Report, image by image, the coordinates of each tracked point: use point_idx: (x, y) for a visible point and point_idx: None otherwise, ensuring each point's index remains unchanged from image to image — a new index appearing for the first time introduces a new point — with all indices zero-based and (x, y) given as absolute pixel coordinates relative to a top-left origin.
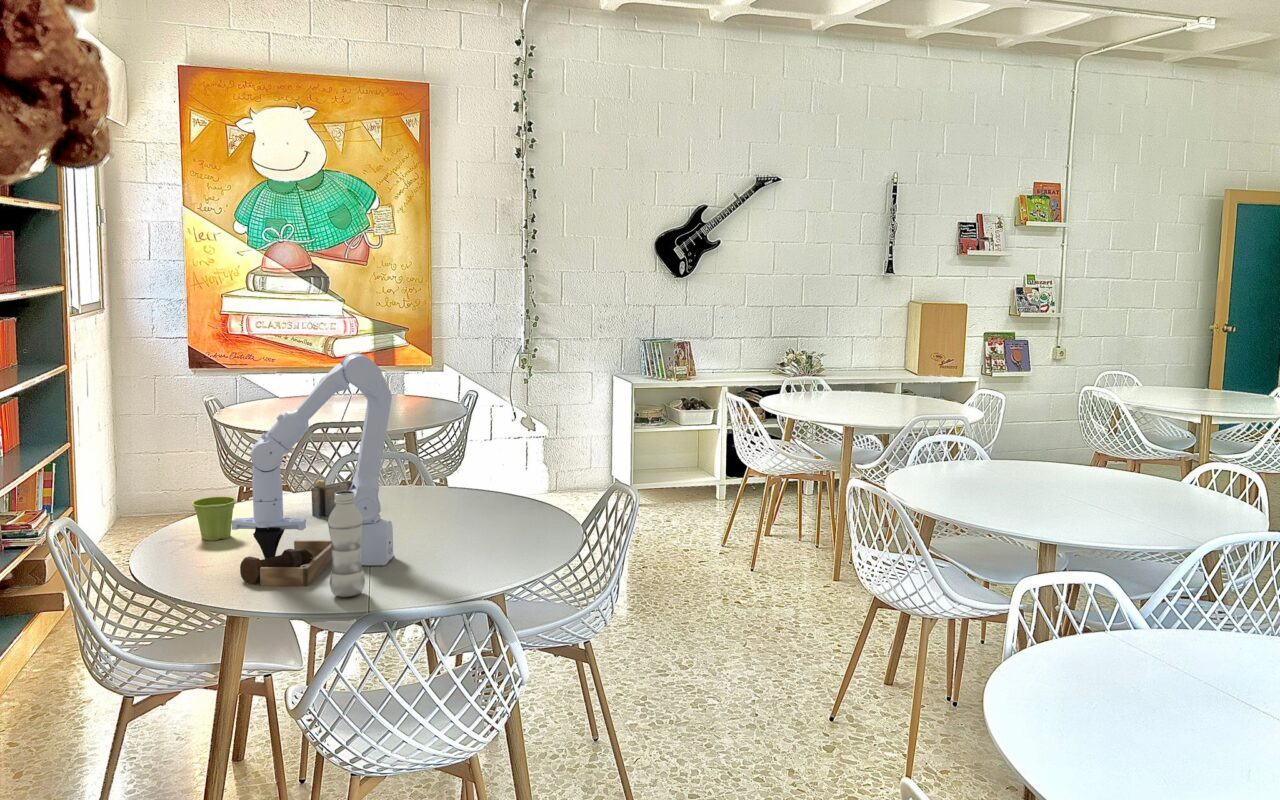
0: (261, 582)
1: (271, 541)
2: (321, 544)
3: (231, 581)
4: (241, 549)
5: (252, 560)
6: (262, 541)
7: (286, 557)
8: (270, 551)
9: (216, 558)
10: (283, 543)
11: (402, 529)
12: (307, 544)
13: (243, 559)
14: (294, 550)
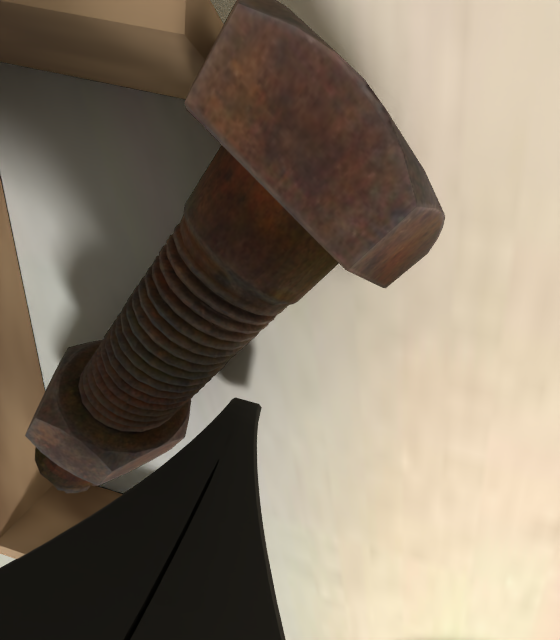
0: None
1: (95, 541)
2: None
3: (462, 236)
4: (398, 636)
5: (278, 15)
6: (205, 577)
7: (97, 378)
8: (189, 453)
9: (502, 597)
10: None
11: None
12: None
13: (430, 200)
14: (42, 440)
